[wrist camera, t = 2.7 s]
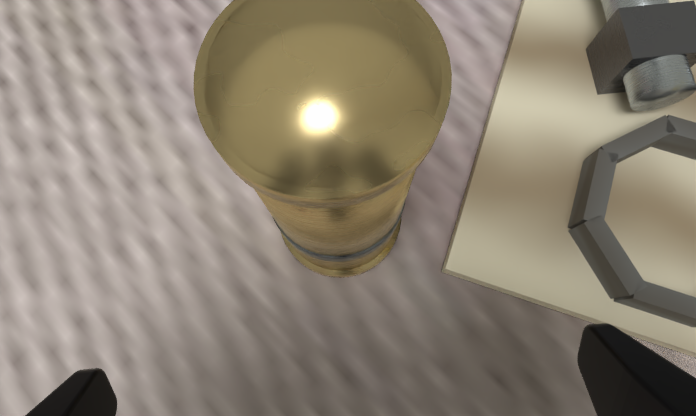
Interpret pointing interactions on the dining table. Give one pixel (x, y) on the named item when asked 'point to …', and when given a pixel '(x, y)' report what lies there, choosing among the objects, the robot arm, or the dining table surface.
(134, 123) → the dining table surface
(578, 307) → the coupling plate
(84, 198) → the dining table surface
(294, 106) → the cylinder
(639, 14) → the shaft
